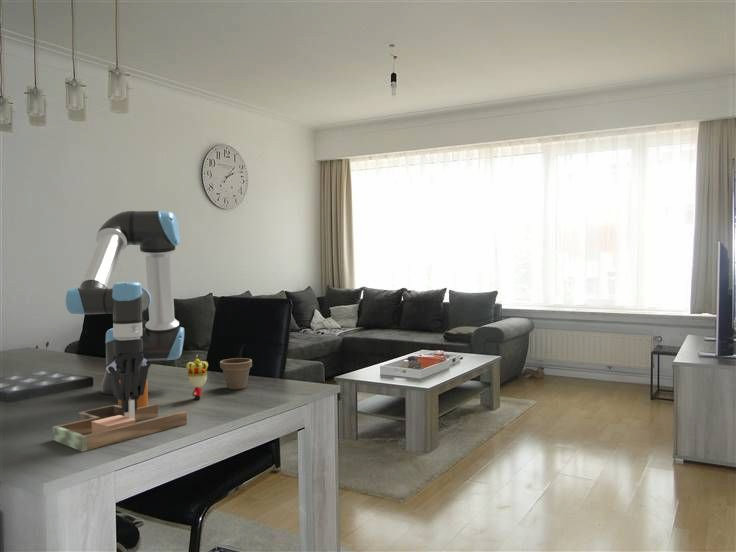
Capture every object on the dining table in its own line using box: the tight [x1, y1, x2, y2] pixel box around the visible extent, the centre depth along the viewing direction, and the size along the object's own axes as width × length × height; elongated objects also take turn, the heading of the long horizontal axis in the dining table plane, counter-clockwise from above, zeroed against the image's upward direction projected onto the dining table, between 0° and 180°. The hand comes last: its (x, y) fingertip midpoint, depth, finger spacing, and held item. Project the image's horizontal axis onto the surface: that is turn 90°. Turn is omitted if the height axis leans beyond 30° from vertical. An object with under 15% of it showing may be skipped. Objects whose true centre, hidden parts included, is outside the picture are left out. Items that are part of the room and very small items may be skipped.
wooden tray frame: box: [52, 403, 188, 453], centre depth 166 cm, size 25×30×4 cm
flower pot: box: [219, 357, 253, 390], centre depth 217 cm, size 12×11×10 cm
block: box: [91, 415, 137, 434], centre depth 160 cm, size 8×8×4 cm
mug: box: [117, 378, 149, 408], centre depth 186 cm, size 9×12×9 cm
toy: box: [185, 354, 209, 401], centre depth 200 cm, size 7×7×15 cm
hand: (129, 422), depth 164 cm, fingers closed
